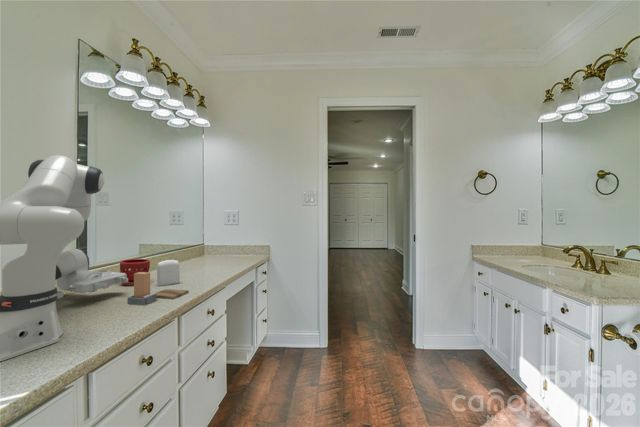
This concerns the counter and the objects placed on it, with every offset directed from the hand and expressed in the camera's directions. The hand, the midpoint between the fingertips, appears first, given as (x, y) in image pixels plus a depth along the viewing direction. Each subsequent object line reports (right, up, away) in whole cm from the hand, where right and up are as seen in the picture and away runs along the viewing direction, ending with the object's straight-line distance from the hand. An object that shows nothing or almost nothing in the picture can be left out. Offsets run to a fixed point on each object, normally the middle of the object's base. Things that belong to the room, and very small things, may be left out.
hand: (117, 283), depth 124 cm
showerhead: (-17, -8, -14) cm, 23 cm away
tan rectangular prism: (+12, -7, -2) cm, 14 cm away
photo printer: (+8, -7, +27) cm, 29 cm away
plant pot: (-10, -7, +29) cm, 31 cm away
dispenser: (+12, -7, -2) cm, 14 cm away
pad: (+18, -7, +8) cm, 21 cm away
